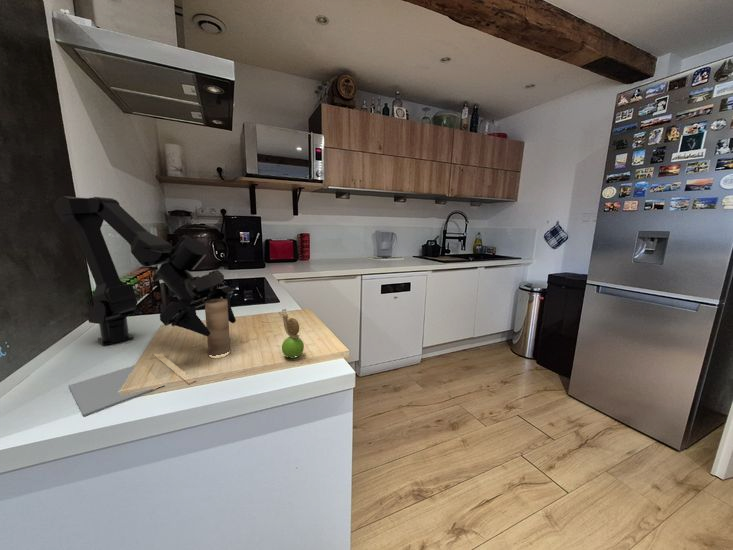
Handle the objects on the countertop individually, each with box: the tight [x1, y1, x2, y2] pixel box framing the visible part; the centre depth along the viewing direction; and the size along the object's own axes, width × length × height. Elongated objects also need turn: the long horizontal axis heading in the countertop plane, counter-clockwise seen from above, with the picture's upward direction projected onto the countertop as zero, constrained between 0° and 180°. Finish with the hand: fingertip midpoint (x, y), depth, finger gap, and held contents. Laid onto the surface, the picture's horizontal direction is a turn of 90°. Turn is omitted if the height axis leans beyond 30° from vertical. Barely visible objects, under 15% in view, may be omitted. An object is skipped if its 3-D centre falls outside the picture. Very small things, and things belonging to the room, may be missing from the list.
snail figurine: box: [281, 308, 305, 358], centre depth 71 cm, size 5×6×12 cm
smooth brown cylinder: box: [204, 299, 231, 356], centre depth 71 cm, size 5×5×14 cm
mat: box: [68, 364, 155, 418], centre depth 57 cm, size 14×12×1 cm
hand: (222, 328), depth 71 cm, fingers open, 9 cm apart
